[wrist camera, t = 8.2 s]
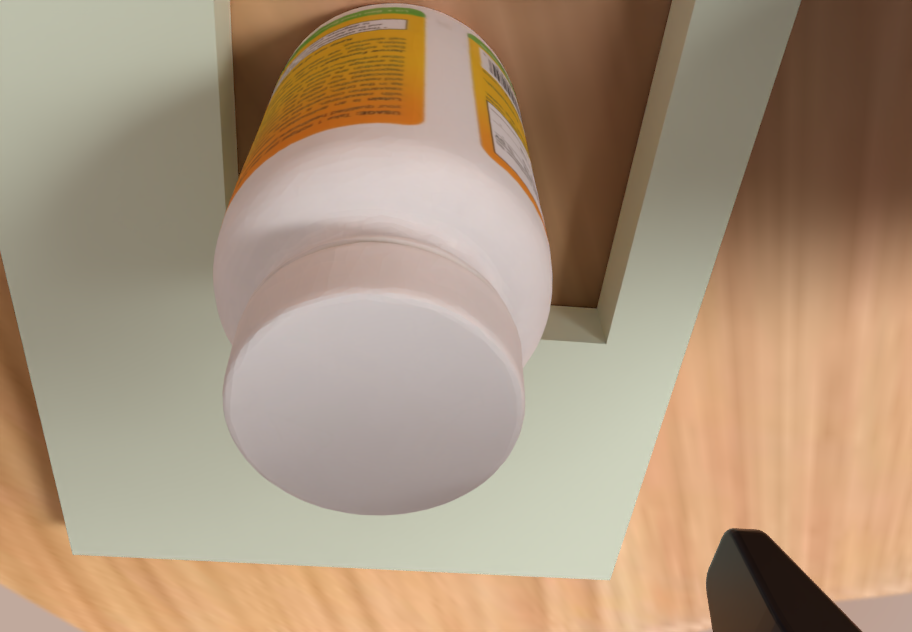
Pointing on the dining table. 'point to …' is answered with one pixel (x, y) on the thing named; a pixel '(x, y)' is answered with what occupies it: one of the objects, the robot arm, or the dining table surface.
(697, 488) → the dining table surface
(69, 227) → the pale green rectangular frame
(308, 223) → the supplement bottle
